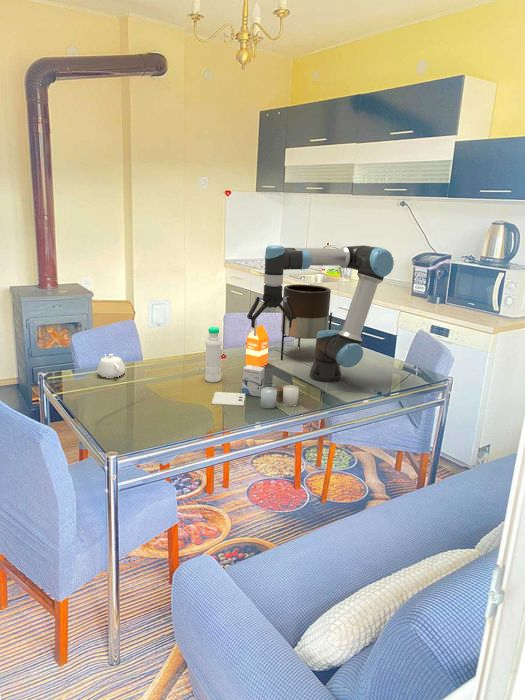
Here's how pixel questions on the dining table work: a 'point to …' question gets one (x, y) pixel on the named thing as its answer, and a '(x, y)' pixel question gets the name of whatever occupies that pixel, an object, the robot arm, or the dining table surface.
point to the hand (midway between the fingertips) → (270, 335)
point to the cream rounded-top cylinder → (290, 395)
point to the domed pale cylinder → (268, 397)
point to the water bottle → (213, 356)
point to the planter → (306, 311)
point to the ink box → (253, 380)
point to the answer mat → (228, 399)
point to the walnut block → (279, 393)
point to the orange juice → (257, 347)
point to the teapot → (111, 366)
